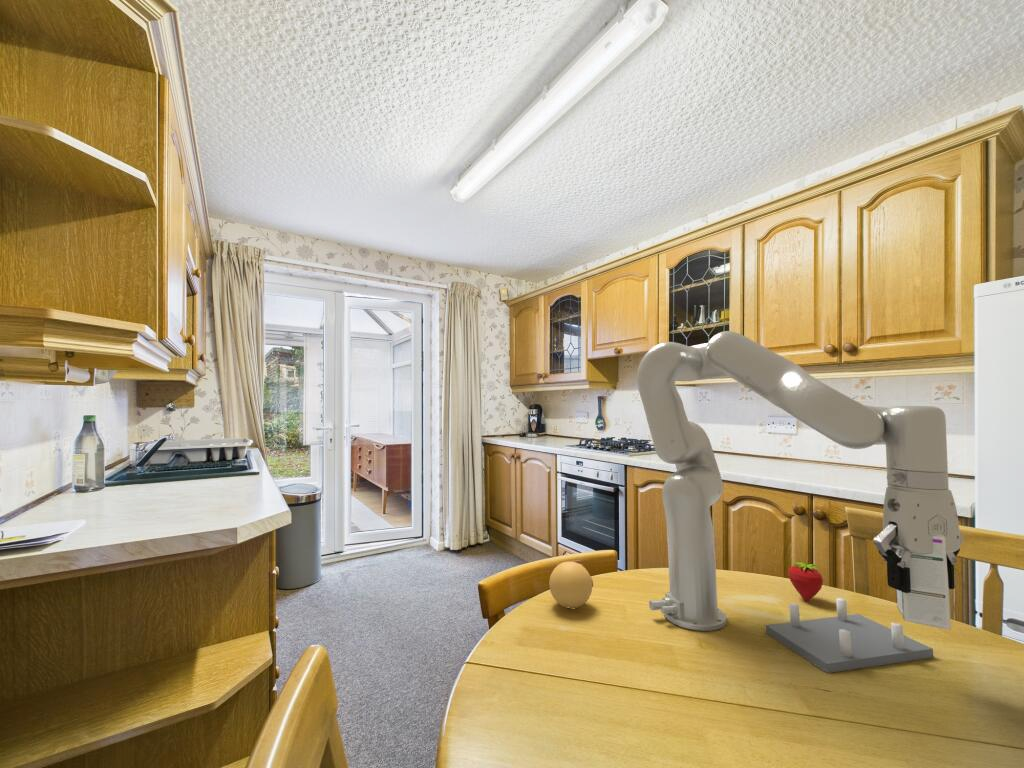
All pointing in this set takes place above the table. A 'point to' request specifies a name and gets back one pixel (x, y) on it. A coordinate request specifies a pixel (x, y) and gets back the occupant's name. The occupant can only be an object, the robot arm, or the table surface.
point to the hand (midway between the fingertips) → (920, 587)
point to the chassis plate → (861, 643)
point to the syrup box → (927, 588)
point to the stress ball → (570, 584)
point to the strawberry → (805, 579)
